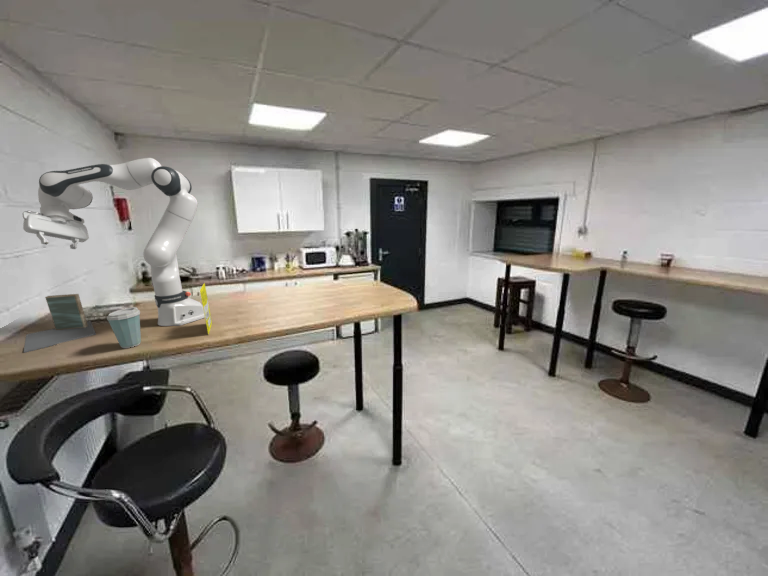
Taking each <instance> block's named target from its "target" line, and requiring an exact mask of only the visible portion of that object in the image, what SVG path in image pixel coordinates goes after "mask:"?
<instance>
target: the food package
mask: <svg viewBox="0 0 768 576" xmlns="http://www.w3.org/2000/svg"><path fill="white" fill-rule="evenodd" d="M199 293H200V298H201V304H202V305H203V310H204V315H205V318H204V320H205V324H206V329H207V330H206V331H207V335H208V336H209V335H210V331H211V328H212V324H213V320H212V314H211V309H210V304H209V303H210V302H209V300H208V293H207V287H206V282H204V283H203V284H202V286H201V288H200V289H199Z"/></svg>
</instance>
